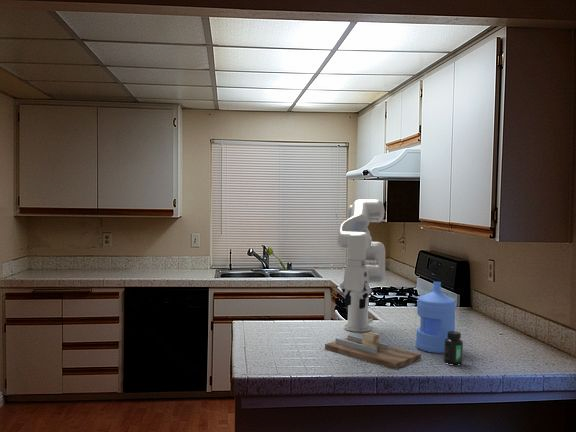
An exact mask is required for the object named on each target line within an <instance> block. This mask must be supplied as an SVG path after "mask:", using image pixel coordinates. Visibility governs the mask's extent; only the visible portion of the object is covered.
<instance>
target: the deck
mask: <svg viewBox="0 0 576 432" xmlns="http://www.w3.org/2000/svg"><path fill="white" fill-rule="evenodd" d="M342 339H343V340H347V339H348V337H346V338H342ZM347 341H351V340H347ZM351 342H354V341H351ZM355 343H358V342H355ZM358 344H362V343H358ZM324 350H327V351H329V352H330V351H332V352H335V353H337V354H342V355H345V356H348V357H351V356H352V358H355V359H359V360H363V361H365V360H366V362H369V363H372V362H373V363H372V364H376V363H377V364H376V365H379V364H380V366H383V365H384V366H383V367H386V366H387V368H390V367H391V368H390V369H393V368H394V369H393V370H397V369H399V368H398V367H400V368H402V367H404V366H403V365H405V366H407V365H410V364H412V363H415V362H418V361H420V360H421V359H422V354H421V353H417V352H414V351H410V350H406V349H402V348H398V347H394V346H390V345H389V350H385V349H381V348H380V349H378V350H377V354H374V353H370V352H366V351H363V350H359V349H355V348H352V347H348V346H344V345H341V344H337V343H336V340H335V341H331V342H327V343H325V344H324ZM419 359H420V360H419ZM417 360H418V361H417ZM414 361H415V362H414ZM411 362H412V363H411ZM409 363H410V364H409ZM406 364H407V365H406ZM401 366H402V367H401ZM396 368H397V369H396Z"/></svg>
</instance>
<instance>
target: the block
mask: <svg viewBox="0 0 576 432" xmlns="http://www.w3.org/2000/svg"><path fill="white" fill-rule="evenodd" d="M361 338H362V345H366V346H370V347H374V348H377V350H378V349H380V343H381V342H380V341H381V334H380V333H377V332H374V331H373V332H372V331H367V332H362V335H361Z"/></svg>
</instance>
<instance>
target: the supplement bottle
mask: <svg viewBox="0 0 576 432" xmlns="http://www.w3.org/2000/svg"><path fill="white" fill-rule="evenodd" d="M461 335H462V334H461V332H460V331H456V330H455V331H448V335H447V337H448V338H447V339H445V343H444V353H443V363H444V362H445V363H448V364H453V365H458V364H462V365H463V358H464V356H463V355H464V342H463V340H462V339H461V338H462V336H461ZM445 363H444V364H445ZM448 364H447V365H448Z"/></svg>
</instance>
